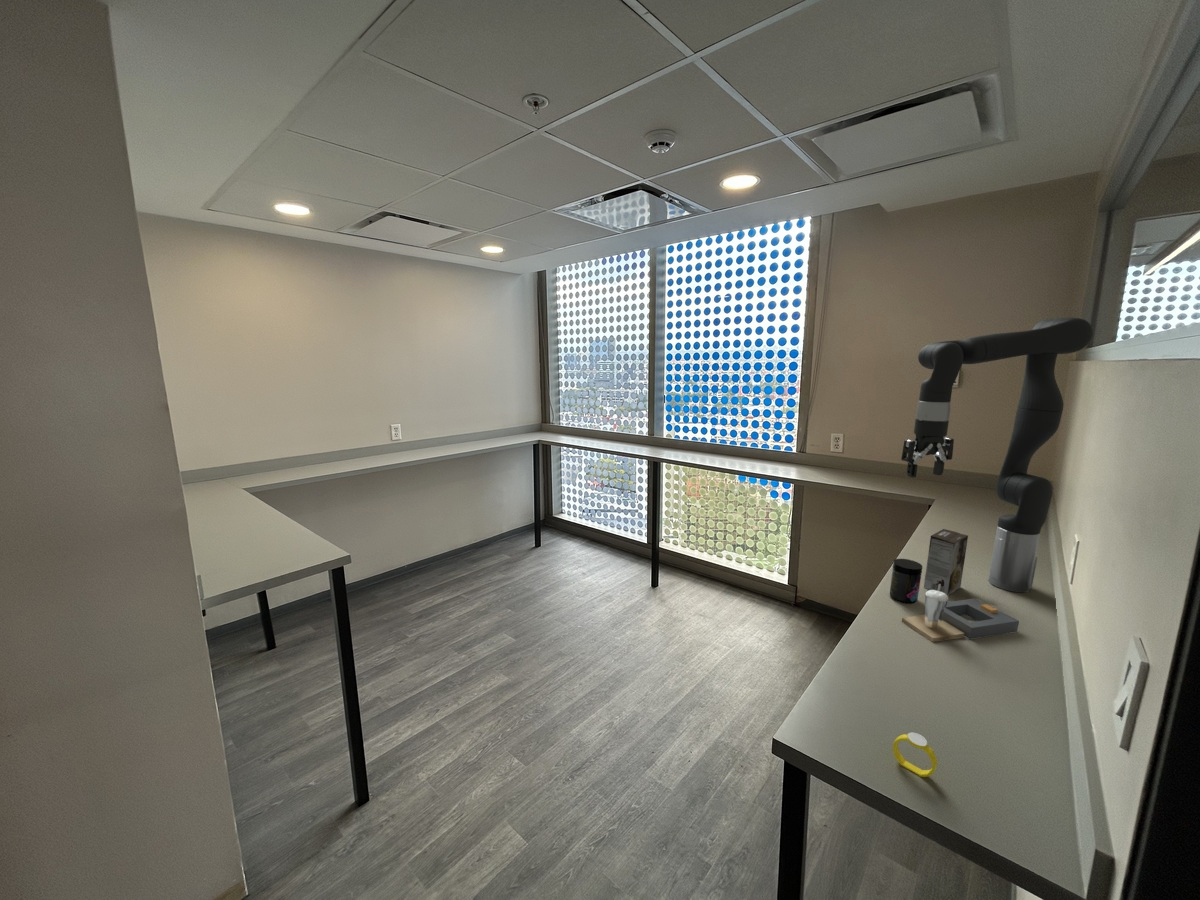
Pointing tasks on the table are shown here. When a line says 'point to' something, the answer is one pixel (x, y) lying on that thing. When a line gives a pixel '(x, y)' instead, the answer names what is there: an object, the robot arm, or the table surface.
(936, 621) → the milkshake
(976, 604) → the gray window plate
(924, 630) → the cork pad
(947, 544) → the coffee box
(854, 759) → the table surface
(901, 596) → the supplement container
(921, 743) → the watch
